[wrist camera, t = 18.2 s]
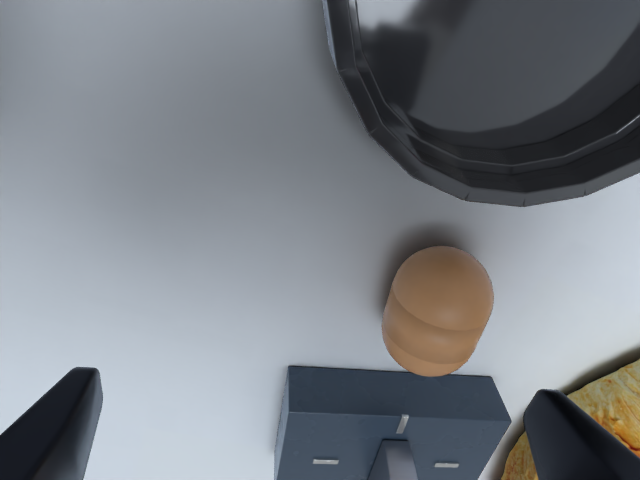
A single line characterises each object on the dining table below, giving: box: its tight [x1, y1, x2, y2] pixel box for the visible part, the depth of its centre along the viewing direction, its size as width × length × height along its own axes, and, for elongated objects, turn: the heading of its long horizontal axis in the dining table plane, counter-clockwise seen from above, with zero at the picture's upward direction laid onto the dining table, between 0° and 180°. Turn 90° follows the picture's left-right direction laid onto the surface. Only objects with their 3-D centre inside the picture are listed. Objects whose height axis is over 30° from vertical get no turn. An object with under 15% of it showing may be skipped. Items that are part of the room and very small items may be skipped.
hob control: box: [274, 366, 511, 480], centre depth 28 cm, size 12×8×3 cm
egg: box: [382, 246, 494, 377], centre depth 22 cm, size 4×6×4 cm
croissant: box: [501, 359, 640, 480], centre depth 29 cm, size 21×10×8 cm, turn 158°
